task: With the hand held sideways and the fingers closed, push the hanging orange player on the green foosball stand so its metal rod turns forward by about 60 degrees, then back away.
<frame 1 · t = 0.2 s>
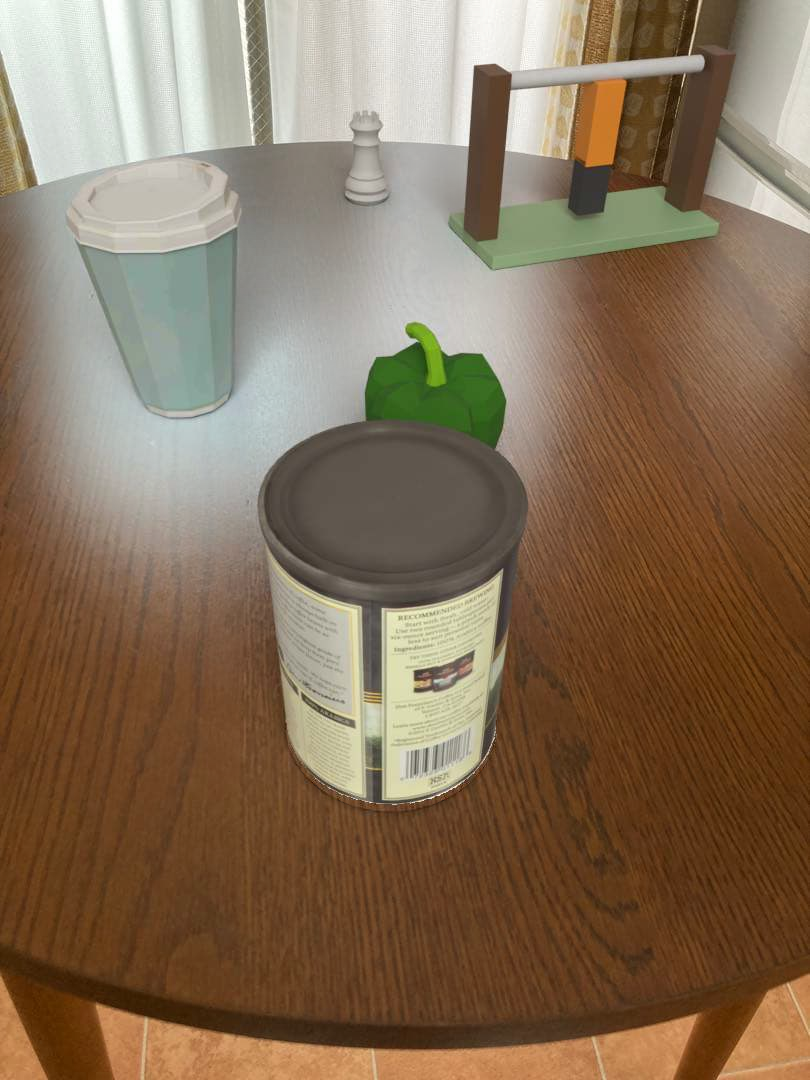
foosball rod: (596, 140, 82), point 8 cm above the table, hinge at 0.0°
foosball stand: (582, 230, 88), on the table
coffee can: (389, 723, 45), on the table
bell pepper: (431, 481, 59), on the table
disposable coffee cup: (184, 395, 66), on the table
rook chess piece: (366, 199, 93), on the table
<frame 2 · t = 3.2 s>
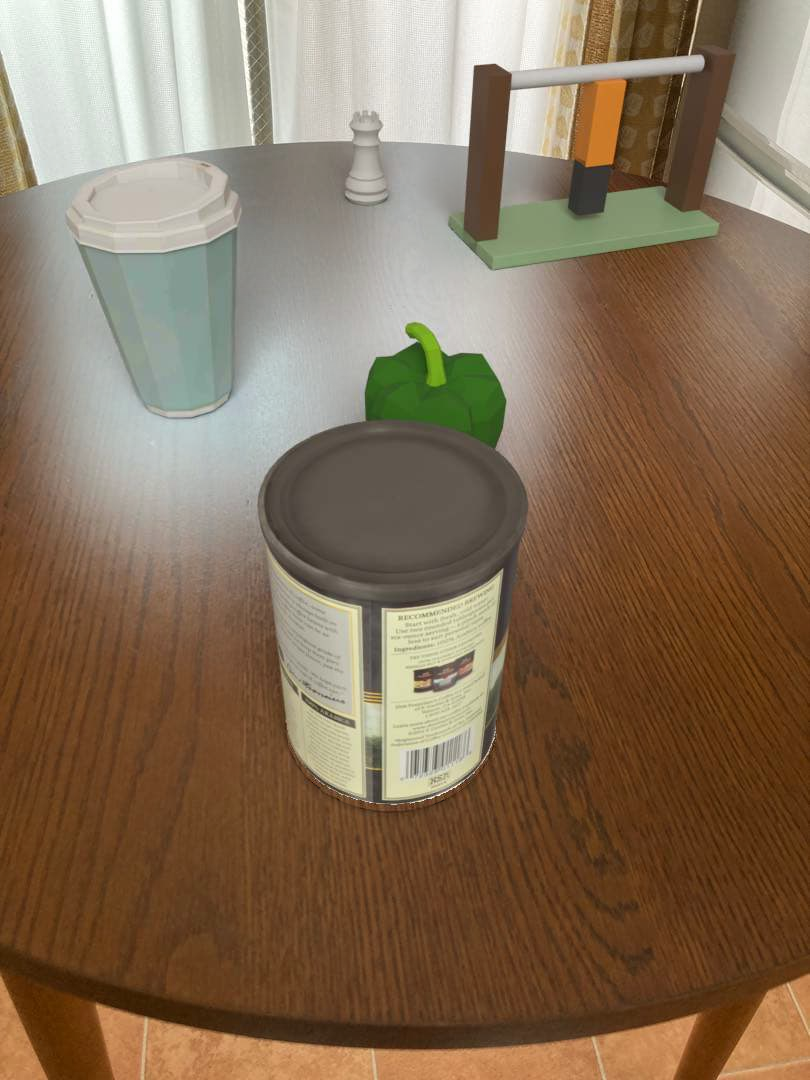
nothing on the table moved.
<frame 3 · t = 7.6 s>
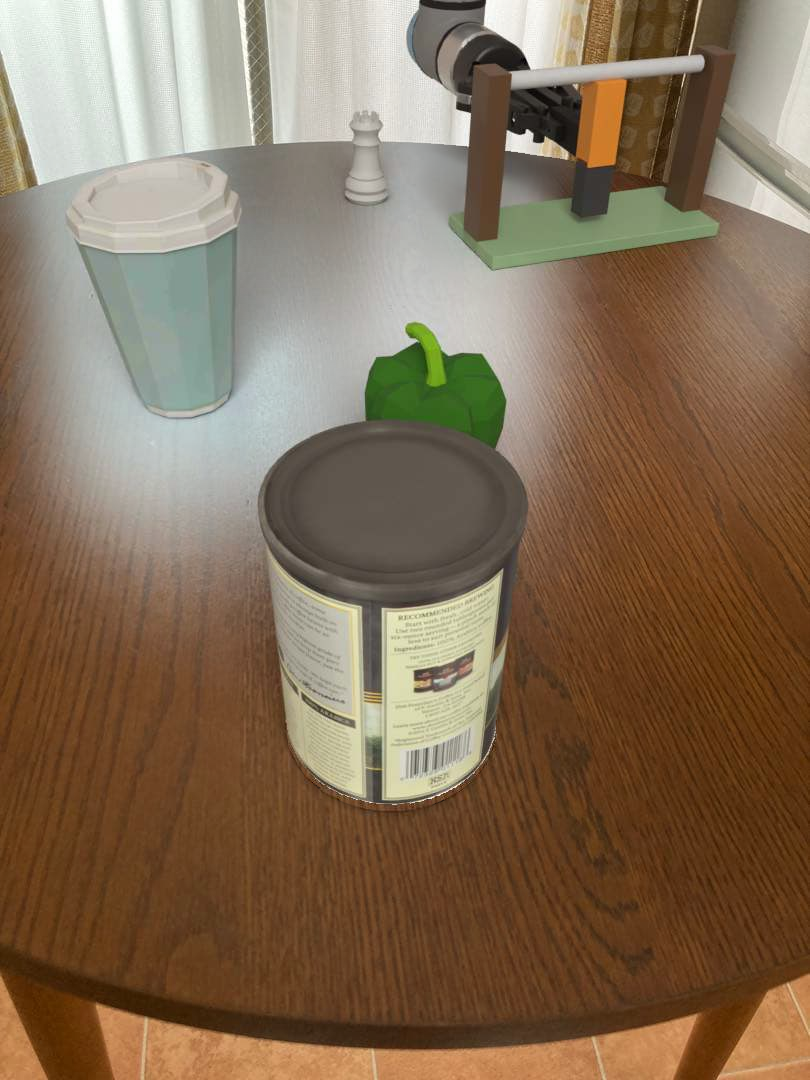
hand: (588, 143, 84), 8 cm above the table, tool horizontal, fingers closed
foosball rod: (597, 141, 82), point 8 cm above the table, hinge at 2.9°, touching gripper
everything else where it was.
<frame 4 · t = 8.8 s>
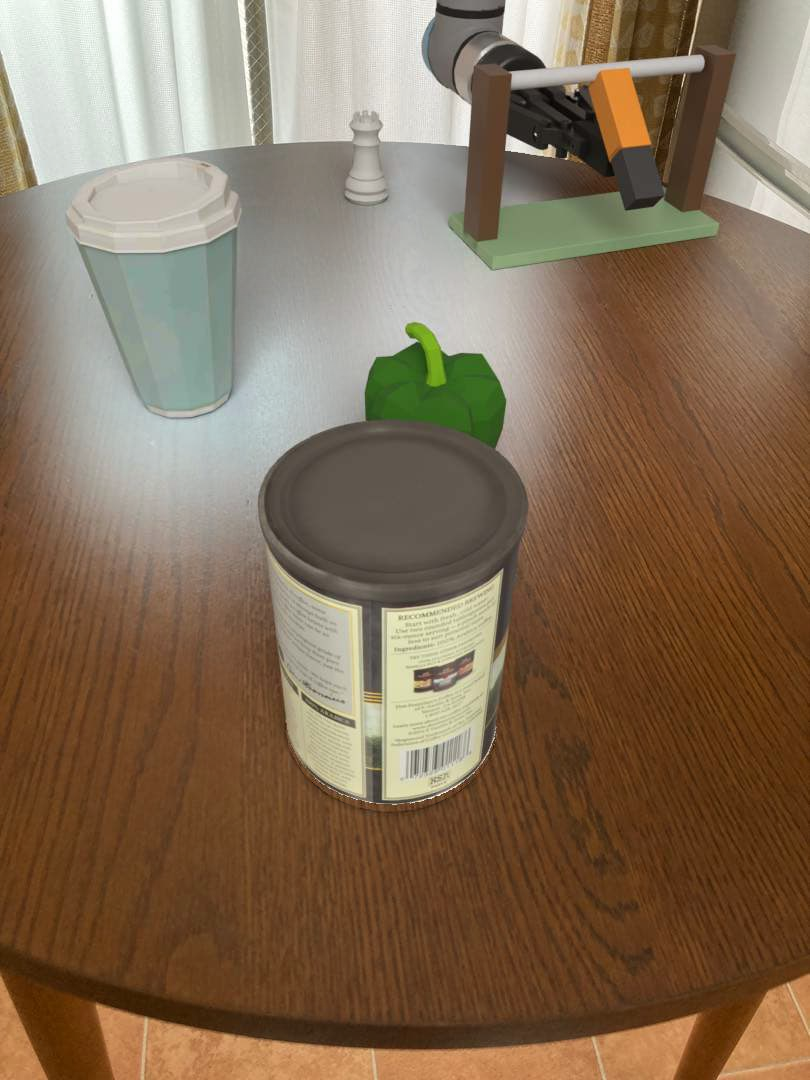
hand: (614, 160, 80), 8 cm above the table, tool horizontal, fingers closed
foosball rod: (624, 133, 78), point 10 cm above the table, hinge at 48.7°, touching gripper
everything else where it was.
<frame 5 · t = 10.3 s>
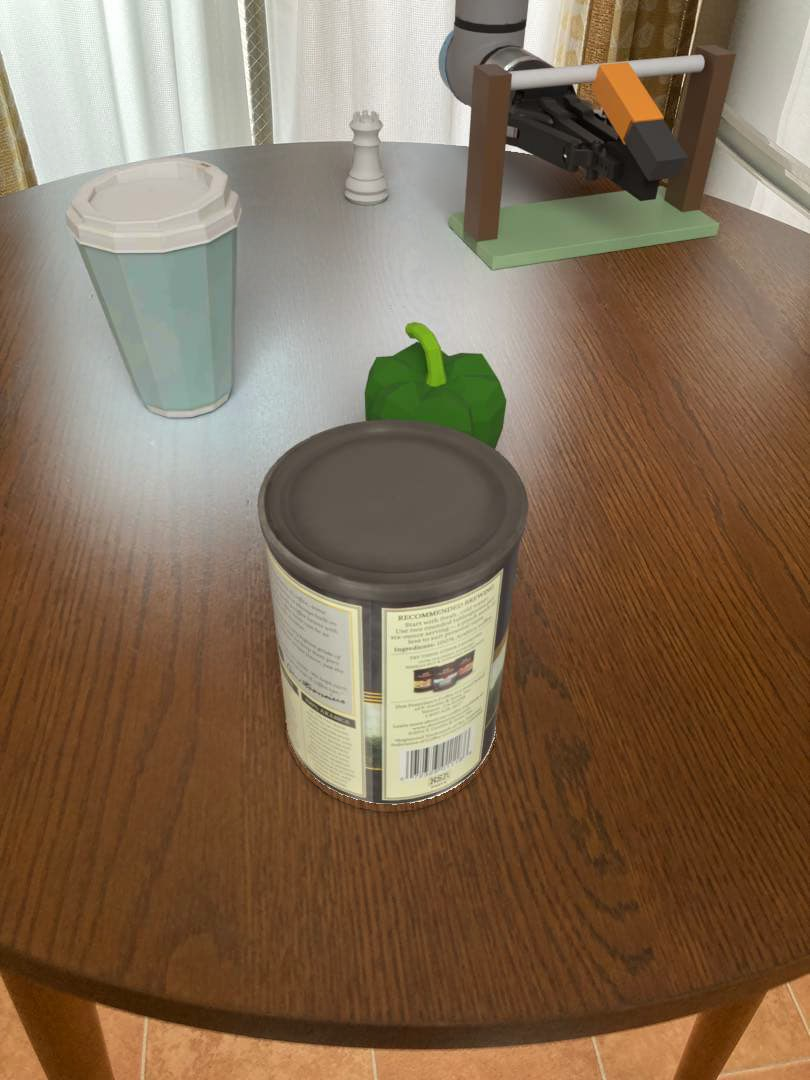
hand: (651, 183, 76), 8 cm above the table, tool horizontal, fingers closed
foosball rod: (634, 116, 76), point 12 cm above the table, hinge at 68.7°, touching gripper
everything else where it was.
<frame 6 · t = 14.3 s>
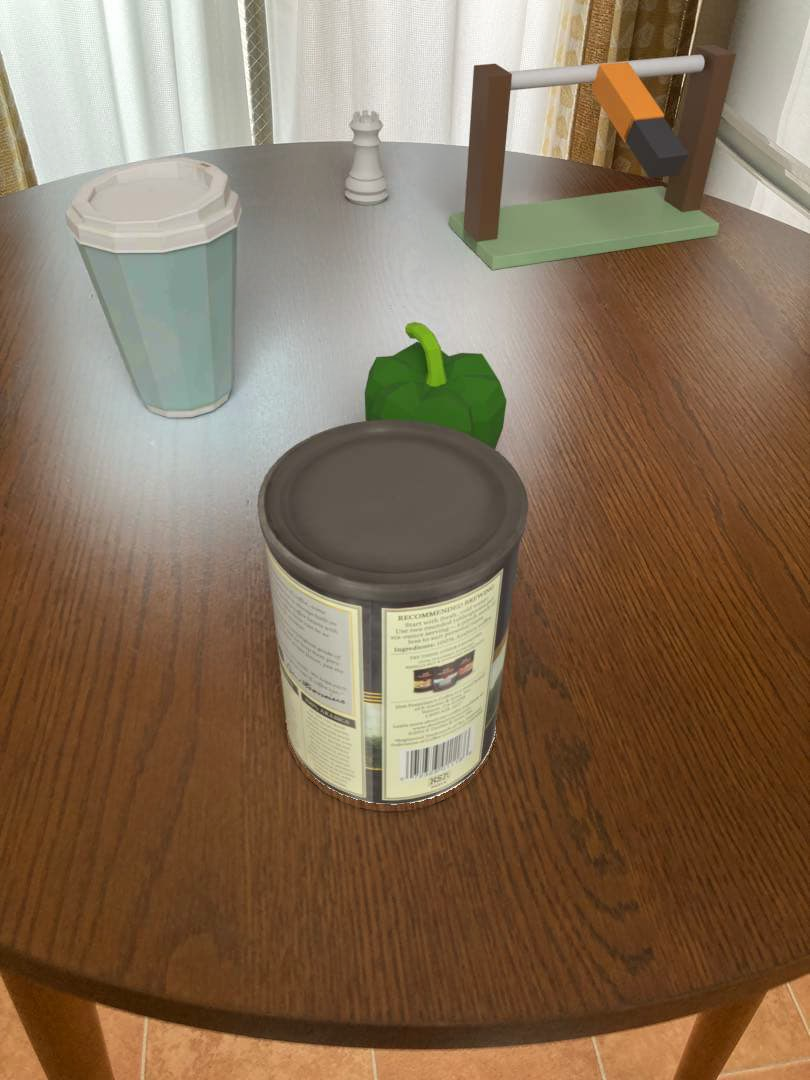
foosball rod: (635, 115, 76), point 12 cm above the table, hinge at 69.9°
everything else where it was.
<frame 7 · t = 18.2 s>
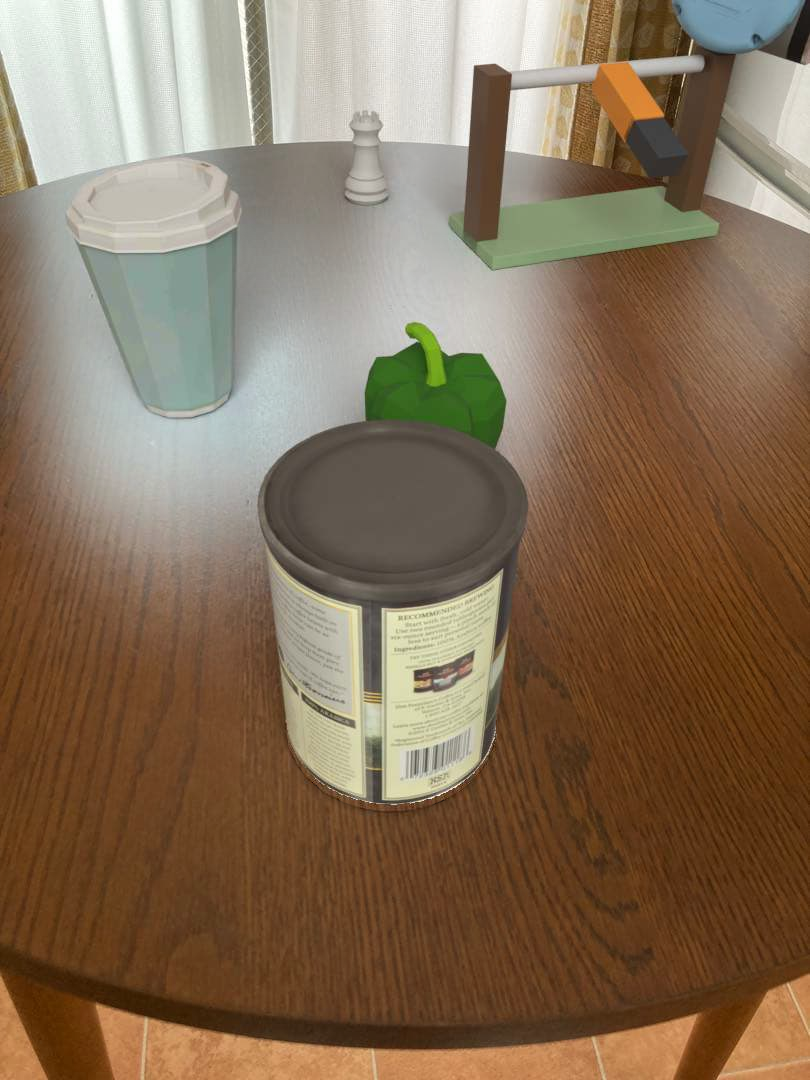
nothing on the table moved.
at the end: foosball rod at +70° (first picture: +0°); coffee can moved 0.2 cm from its start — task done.
